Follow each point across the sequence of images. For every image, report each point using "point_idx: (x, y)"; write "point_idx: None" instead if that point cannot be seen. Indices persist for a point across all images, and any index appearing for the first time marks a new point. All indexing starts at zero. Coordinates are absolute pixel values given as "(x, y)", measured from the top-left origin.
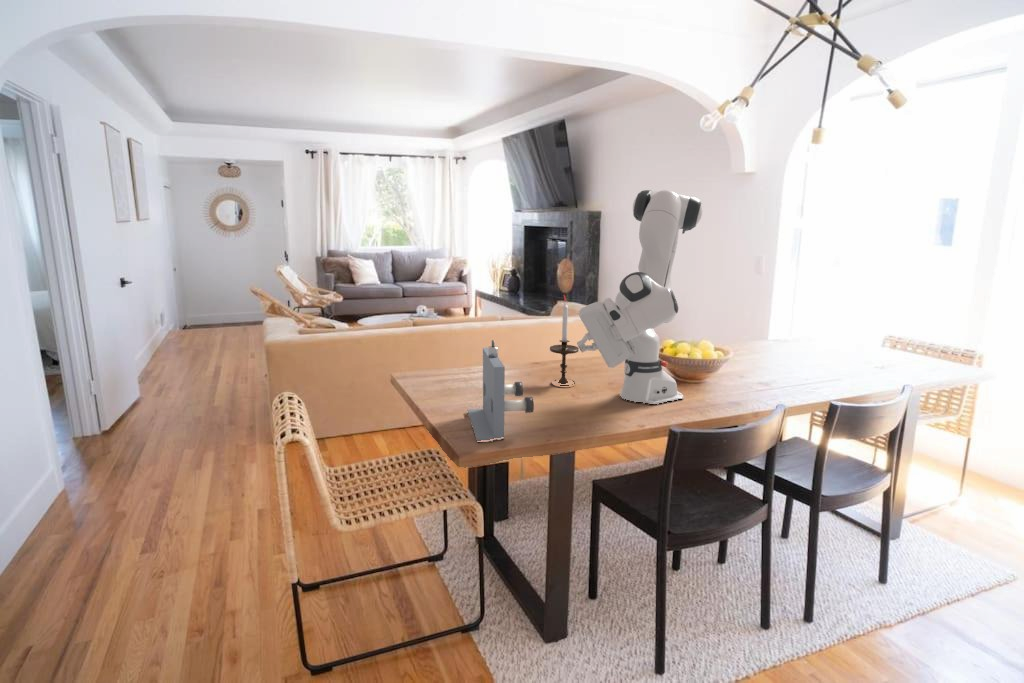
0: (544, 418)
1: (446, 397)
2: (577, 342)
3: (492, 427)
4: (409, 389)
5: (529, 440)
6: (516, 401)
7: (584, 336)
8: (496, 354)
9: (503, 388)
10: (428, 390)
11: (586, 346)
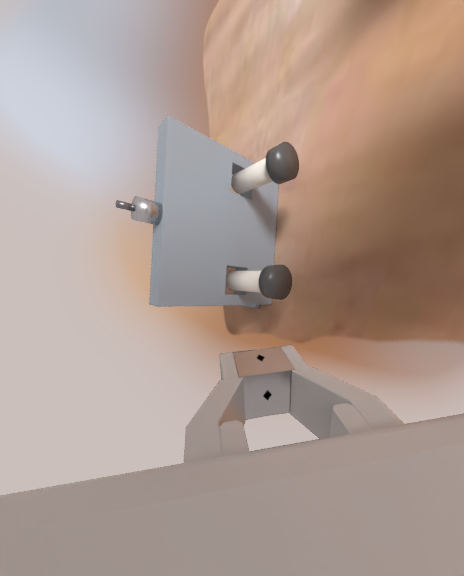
0: (369, 198)
1: (237, 114)
2: (220, 357)
3: None
4: (208, 96)
5: (305, 316)
6: (248, 285)
7: (202, 416)
8: (153, 219)
9: (199, 305)
10: (223, 89)
11: (294, 386)
